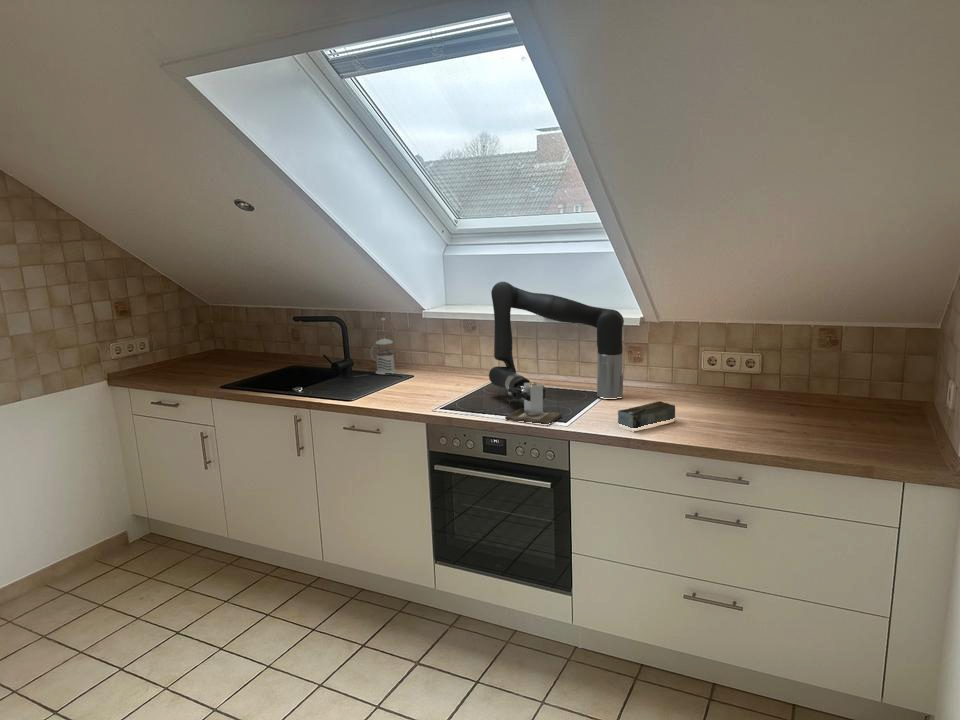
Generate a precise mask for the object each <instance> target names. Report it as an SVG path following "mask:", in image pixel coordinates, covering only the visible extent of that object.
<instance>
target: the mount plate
mask: <svg viewBox="0 0 960 720" xmlns="http://www.w3.org/2000/svg"><path fill="white" fill-rule="evenodd" d="M562 415H563V414H562V413H561V412H555V411H554V412H553V411H546V410H543V414H539V415H529V414H528V413H527V412H525V411H524V408H522V407H520V408H518V409H516V410H514V411H512V412H511V413H510V414H508V415H506V416H505V418H504V419H507V420H513V421H512V422H514V421H524V422H532V423H541V424H549V423H552V422H553V421H555V420H556V421H558V420H559V419H560V418H562V417H561V416H562ZM558 418H559V419H558ZM557 419H558V420H557ZM507 420H506V421H507ZM556 421H555V422H556ZM553 423H554V422H553ZM553 423H552V424H553Z"/></svg>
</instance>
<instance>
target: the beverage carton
mask: <svg viewBox="0 0 960 720" xmlns="http://www.w3.org/2000/svg"><path fill="white" fill-rule="evenodd" d="M673 418H675V419H676V405H675V404H670V403H667V402H663V401H655V402H651V403H647V404H643V405H640V406H634V407H630V408H625V409H619V410H618V411H617V424H618V423H619V424H622V425H625V426H628V427H630V428H638V427H641V426H644V425H648V424H653V423H657V422H661V421H666V420H670V419H673Z"/></svg>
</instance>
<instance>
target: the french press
mask: <svg viewBox="0 0 960 720" xmlns="http://www.w3.org/2000/svg"><path fill="white" fill-rule="evenodd" d="M380 321H381V322H382V327H383V331H385V327H384V326H385V325H384V324H385V323H384V321H386V318H385V317H381V319H380ZM393 343H394V341H393V340H391V339H388V338H386V337H383V338H381V339H378V340H376V341H375V345H373V346H372V347H371V348H370V350H369V351H370V353H369V354H371V355H370V358H371V359H372V360H373V361H375V362H376V371H375V374H378V375H386V374H385V373H390V372H394V371H397V370H396V369H395V358H394V355H395V354H394V353H393V352H394V350H393V349H386V346H387V345H388V346H389V345H393ZM379 345H381V346H382V345H383V347H384V349H379V350H377V351H376V353H377V355H376V358H375V357H374V355H373V353H372V351H373V349H374V348H375V349H378V346H379Z"/></svg>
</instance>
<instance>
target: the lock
mask: <svg viewBox="0 0 960 720" xmlns="http://www.w3.org/2000/svg"><path fill="white" fill-rule="evenodd" d="M542 385H543V384H540V383H539V382H537V381H530V382H529V383H524V391H525V393H528V394H529V395H530V401H527V400H525V399H523V407H524V411H525V412H527V413H528V414H529V415H539V414H543V411H544V400H543V386H544V385H543V386H542Z"/></svg>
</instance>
